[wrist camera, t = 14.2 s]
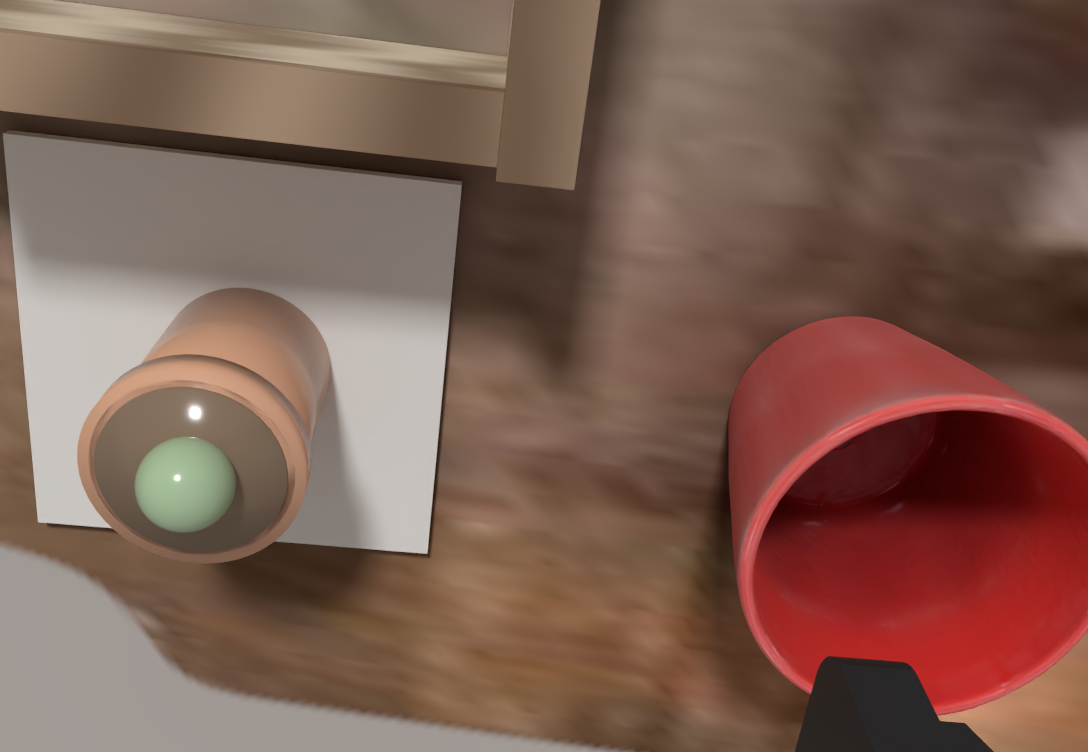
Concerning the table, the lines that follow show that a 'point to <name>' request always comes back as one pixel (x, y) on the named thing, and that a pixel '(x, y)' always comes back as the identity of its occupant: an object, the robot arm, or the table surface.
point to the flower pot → (904, 513)
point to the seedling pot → (210, 430)
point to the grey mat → (239, 262)
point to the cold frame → (313, 83)
